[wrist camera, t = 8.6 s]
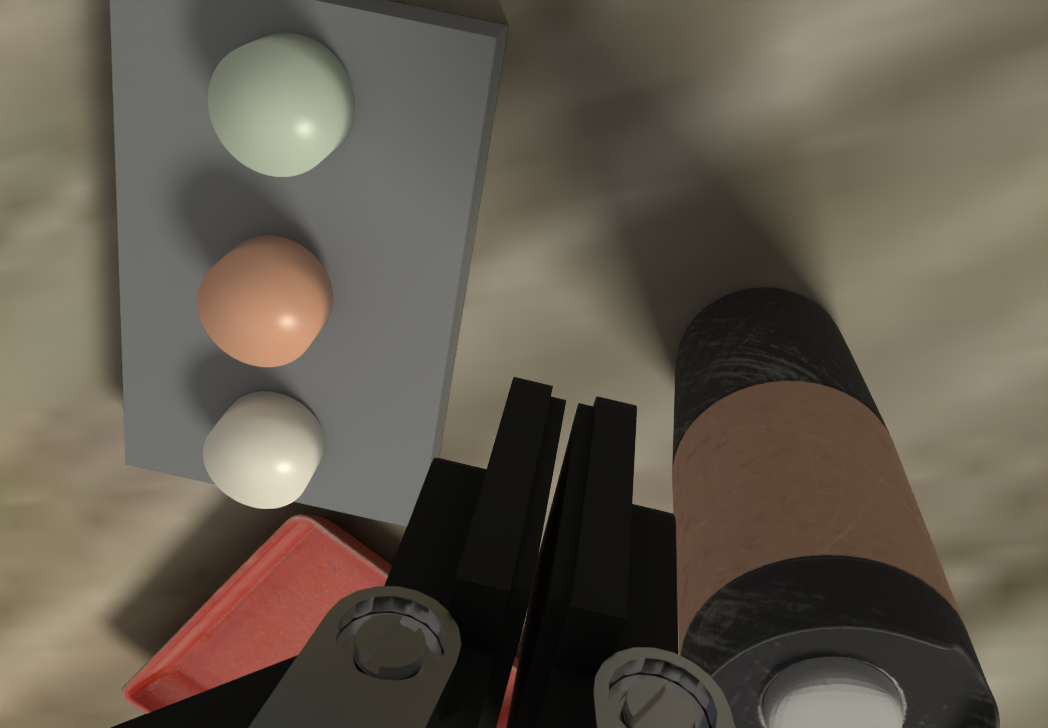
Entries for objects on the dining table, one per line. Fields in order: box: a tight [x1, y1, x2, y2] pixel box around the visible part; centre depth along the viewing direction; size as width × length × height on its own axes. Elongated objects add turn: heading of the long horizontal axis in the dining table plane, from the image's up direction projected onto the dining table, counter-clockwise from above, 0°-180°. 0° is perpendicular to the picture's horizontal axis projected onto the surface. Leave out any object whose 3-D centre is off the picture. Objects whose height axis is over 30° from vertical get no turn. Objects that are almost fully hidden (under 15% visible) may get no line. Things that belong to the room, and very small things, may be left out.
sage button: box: [208, 32, 355, 177], centre depth 33 cm, size 5×5×2 cm
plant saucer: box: [122, 514, 519, 728], centre depth 51 cm, size 18×18×3 cm
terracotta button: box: [197, 235, 333, 367], centre depth 36 cm, size 5×5×2 cm
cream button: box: [203, 391, 325, 509], centre depth 41 cm, size 5×5×2 cm
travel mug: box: [672, 288, 1000, 728], centre depth 32 cm, size 8×8×20 cm
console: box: [110, 0, 509, 527], centre depth 40 cm, size 22×14×3 cm, turn 170°
